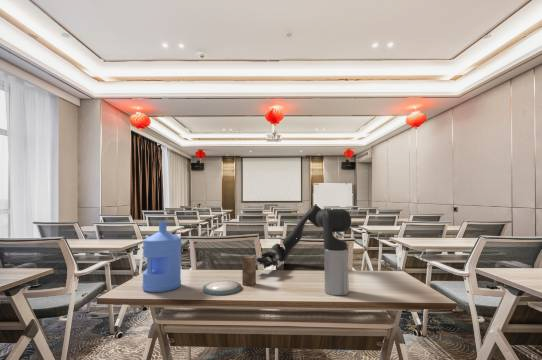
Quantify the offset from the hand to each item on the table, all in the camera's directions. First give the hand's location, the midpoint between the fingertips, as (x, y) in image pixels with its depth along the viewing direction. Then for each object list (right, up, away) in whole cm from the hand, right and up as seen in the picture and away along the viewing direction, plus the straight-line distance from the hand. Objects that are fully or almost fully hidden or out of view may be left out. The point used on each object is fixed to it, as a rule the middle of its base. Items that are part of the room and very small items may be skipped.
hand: (258, 264), depth 143 cm
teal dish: (-14, -6, -17) cm, 23 cm away
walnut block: (-4, -6, -10) cm, 12 cm away
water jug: (-41, -6, -14) cm, 44 cm away
